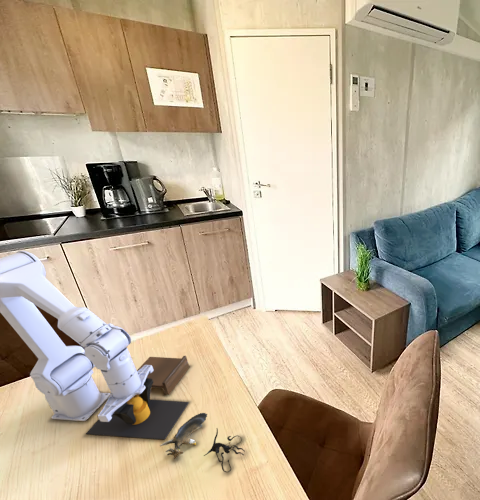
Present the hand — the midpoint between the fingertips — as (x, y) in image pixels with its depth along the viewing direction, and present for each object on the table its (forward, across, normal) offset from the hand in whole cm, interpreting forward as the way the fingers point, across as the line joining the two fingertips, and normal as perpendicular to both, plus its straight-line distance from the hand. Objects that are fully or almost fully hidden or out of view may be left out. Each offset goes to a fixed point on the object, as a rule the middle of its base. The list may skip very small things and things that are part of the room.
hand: (138, 413), depth 73 cm
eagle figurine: (+2, -5, -16) cm, 17 cm away
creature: (+2, -7, -27) cm, 28 cm away
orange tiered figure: (+1, 0, 0) cm, 1 cm away
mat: (+2, 0, 0) cm, 2 cm away
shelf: (+2, +12, +3) cm, 12 cm away
